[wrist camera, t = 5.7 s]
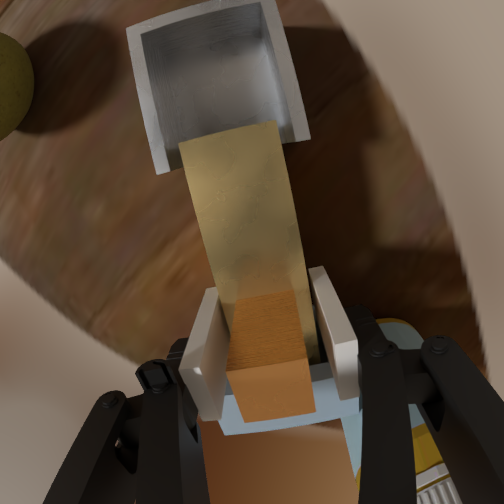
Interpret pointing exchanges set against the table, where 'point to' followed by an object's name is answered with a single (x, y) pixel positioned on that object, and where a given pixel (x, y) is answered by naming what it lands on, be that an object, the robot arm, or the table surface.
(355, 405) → the socket block
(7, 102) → the apple
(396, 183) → the table surface
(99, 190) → the table surface
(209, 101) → the sleeve
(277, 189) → the yellow orange l-shaped block
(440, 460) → the bottle
